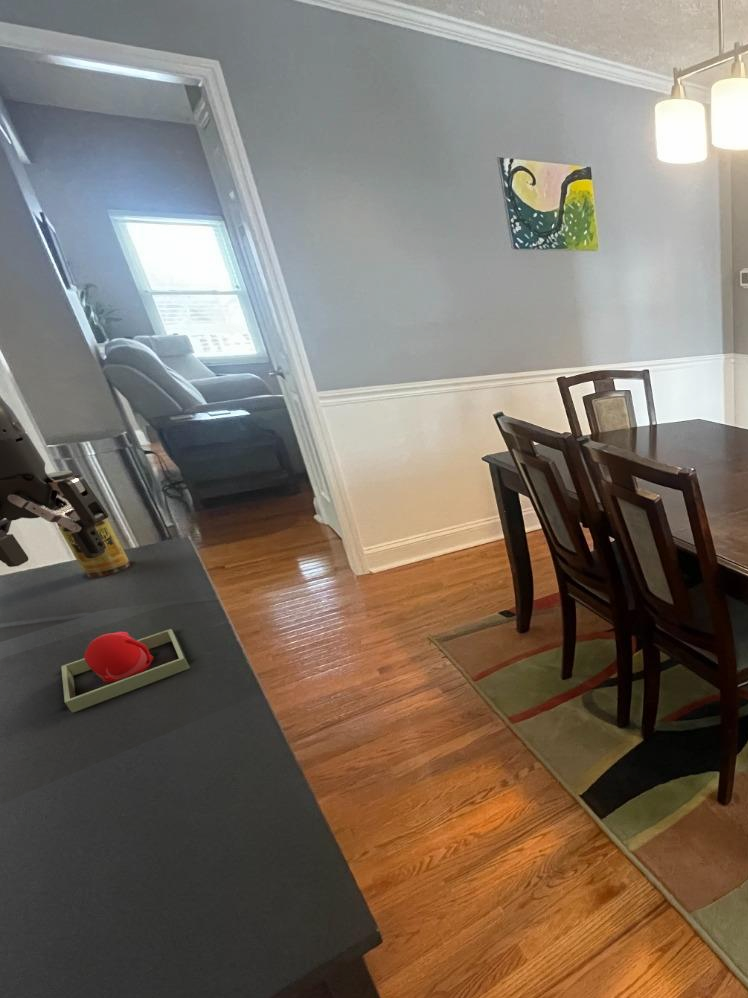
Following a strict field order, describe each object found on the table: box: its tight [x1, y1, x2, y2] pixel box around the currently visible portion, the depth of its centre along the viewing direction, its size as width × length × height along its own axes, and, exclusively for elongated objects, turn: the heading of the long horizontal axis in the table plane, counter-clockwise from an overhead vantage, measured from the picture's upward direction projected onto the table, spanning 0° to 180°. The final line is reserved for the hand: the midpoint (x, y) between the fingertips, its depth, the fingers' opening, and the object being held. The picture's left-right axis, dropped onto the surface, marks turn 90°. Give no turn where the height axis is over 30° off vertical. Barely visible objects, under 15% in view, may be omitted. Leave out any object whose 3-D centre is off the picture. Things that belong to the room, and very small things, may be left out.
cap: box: [83, 631, 154, 684], centre depth 83 cm, size 8×6×6 cm
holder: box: [60, 628, 191, 714], centre depth 84 cm, size 12×12×2 cm
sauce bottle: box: [46, 470, 131, 579], centre depth 109 cm, size 6×6×20 cm
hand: (58, 559), depth 77 cm, fingers open, 8 cm apart
